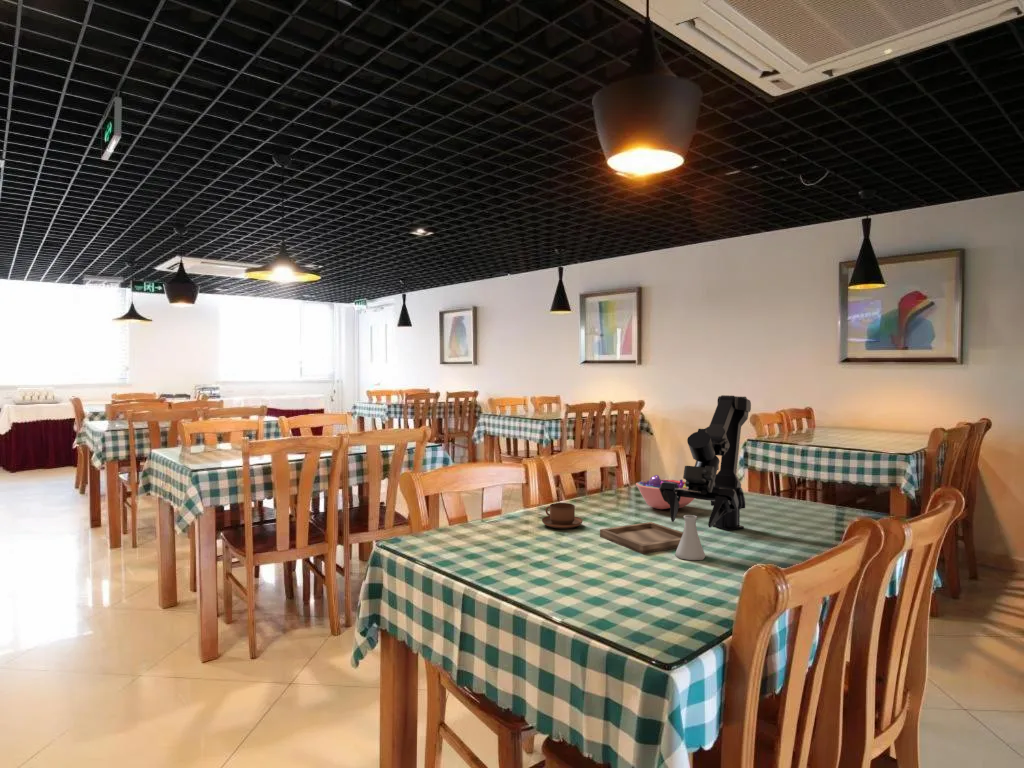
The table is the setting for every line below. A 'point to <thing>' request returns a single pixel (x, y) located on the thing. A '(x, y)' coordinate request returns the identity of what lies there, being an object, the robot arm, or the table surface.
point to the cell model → (654, 495)
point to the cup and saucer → (561, 516)
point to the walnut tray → (643, 537)
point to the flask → (690, 541)
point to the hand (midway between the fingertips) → (690, 523)
